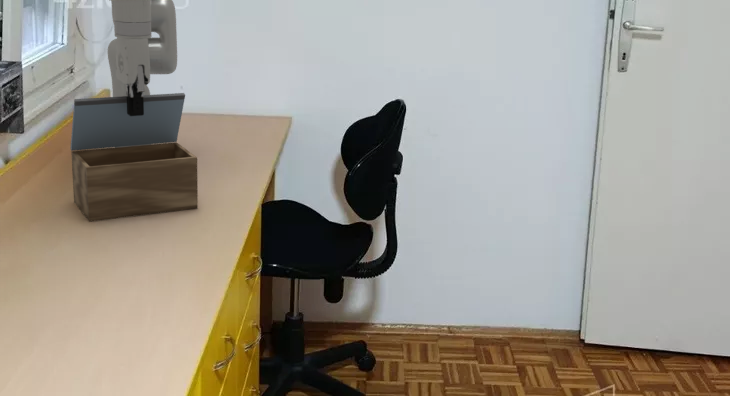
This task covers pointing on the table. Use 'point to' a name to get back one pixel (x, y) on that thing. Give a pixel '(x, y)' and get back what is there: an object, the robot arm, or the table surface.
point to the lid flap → (125, 122)
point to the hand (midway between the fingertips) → (135, 114)
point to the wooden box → (134, 180)
